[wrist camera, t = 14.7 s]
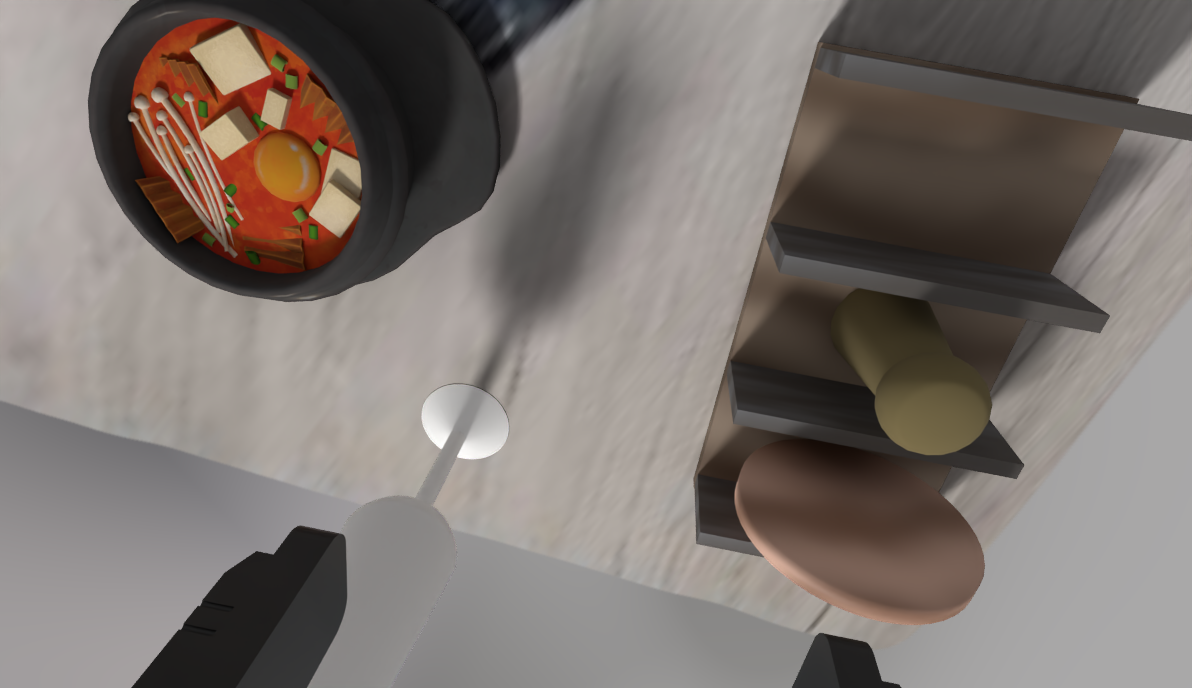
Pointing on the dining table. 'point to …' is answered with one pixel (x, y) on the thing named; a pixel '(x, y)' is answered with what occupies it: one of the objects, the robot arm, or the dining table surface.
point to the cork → (911, 372)
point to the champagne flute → (406, 549)
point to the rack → (906, 268)
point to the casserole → (292, 137)
